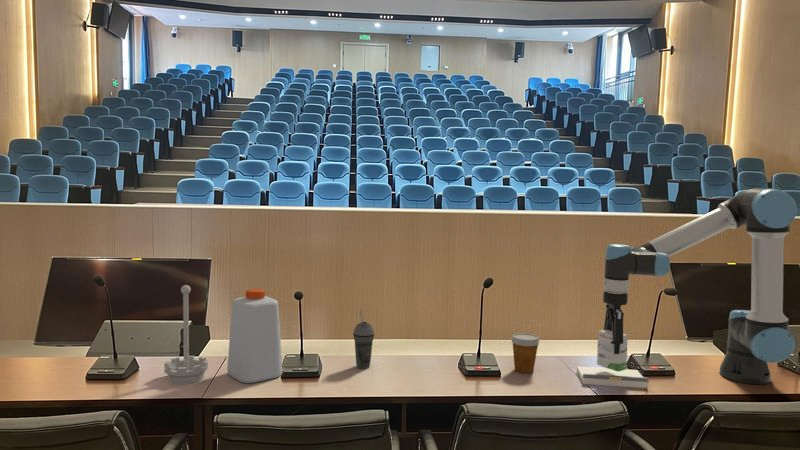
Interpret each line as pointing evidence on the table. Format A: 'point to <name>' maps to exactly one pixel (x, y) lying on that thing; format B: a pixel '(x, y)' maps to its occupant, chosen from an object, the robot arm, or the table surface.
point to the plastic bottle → (254, 338)
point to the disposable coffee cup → (524, 351)
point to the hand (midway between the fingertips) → (611, 358)
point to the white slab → (611, 377)
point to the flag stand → (186, 355)
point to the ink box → (605, 351)
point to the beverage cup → (363, 343)
